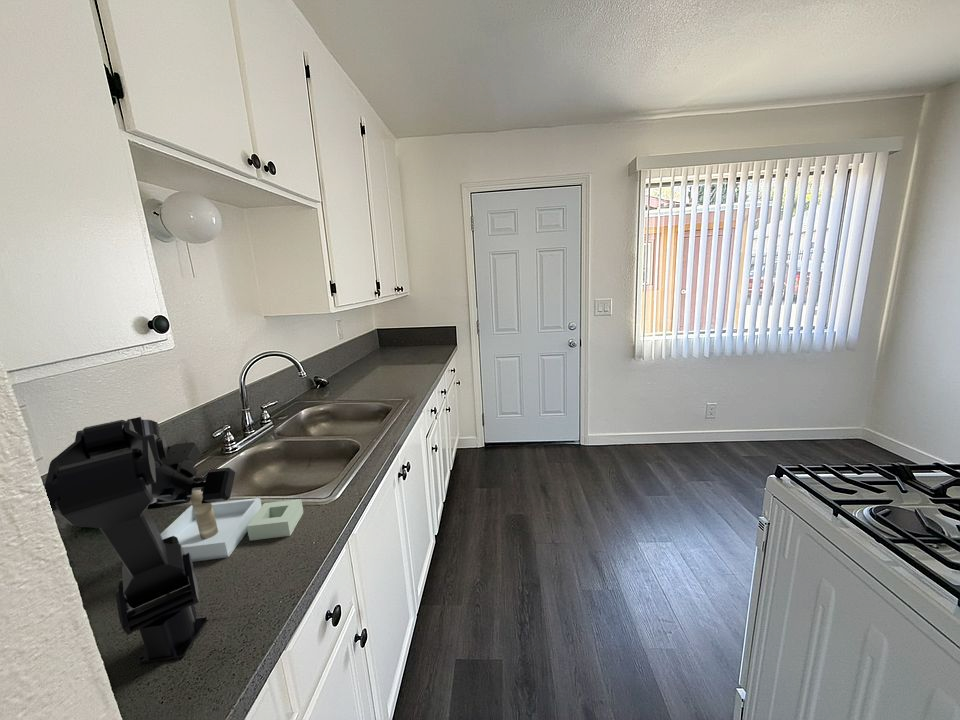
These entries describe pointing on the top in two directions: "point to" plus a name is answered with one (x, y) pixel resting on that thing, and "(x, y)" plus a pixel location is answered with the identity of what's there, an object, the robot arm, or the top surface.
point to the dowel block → (275, 519)
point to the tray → (229, 523)
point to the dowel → (203, 515)
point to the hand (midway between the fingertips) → (205, 498)
